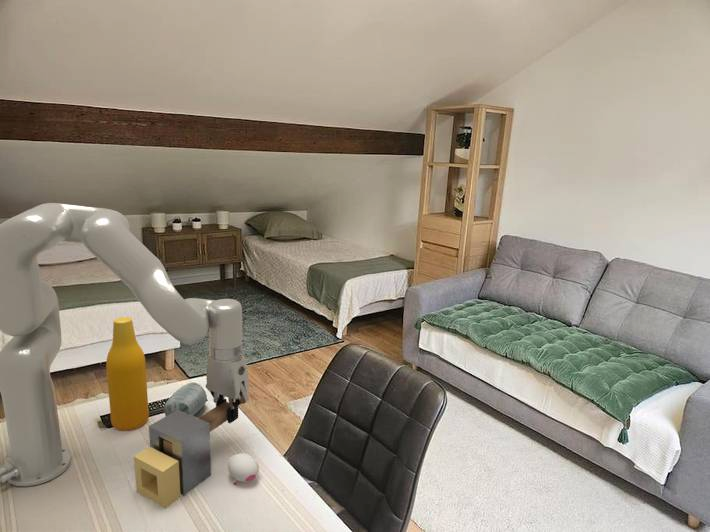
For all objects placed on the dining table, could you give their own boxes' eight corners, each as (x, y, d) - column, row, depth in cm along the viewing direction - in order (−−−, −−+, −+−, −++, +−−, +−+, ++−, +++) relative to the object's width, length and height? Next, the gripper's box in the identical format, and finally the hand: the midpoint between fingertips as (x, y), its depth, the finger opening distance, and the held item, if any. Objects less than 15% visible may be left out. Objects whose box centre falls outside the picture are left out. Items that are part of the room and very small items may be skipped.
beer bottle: (154, 412, 135) (148, 313, 127) (142, 431, 126) (134, 327, 119) (119, 411, 134) (111, 312, 127) (105, 431, 125) (95, 326, 118)
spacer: (165, 508, 101) (162, 471, 99) (136, 491, 106) (133, 456, 103) (180, 496, 105) (178, 461, 102) (152, 481, 109) (149, 446, 106)
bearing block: (184, 496, 105) (181, 441, 102) (152, 478, 110) (148, 426, 106) (211, 474, 112) (209, 423, 108) (180, 459, 116) (177, 409, 113)
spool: (190, 424, 125) (178, 386, 126) (160, 433, 127) (150, 396, 129) (220, 409, 138) (209, 375, 139) (193, 418, 140) (183, 385, 142)
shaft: (173, 456, 105) (173, 444, 104) (163, 451, 107) (163, 439, 106) (234, 415, 121) (234, 404, 121) (225, 411, 123) (225, 401, 122)
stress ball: (260, 491, 112) (272, 462, 114) (241, 491, 105) (254, 461, 107) (236, 477, 116) (247, 449, 117) (215, 477, 109) (228, 447, 111)
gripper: (263, 353, 116) (262, 421, 121) (212, 337, 124) (213, 401, 128) (241, 365, 110) (242, 436, 115) (189, 347, 117) (191, 415, 122)
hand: (227, 417), depth 121 cm, fingers closed on shaft, 3 cm apart
